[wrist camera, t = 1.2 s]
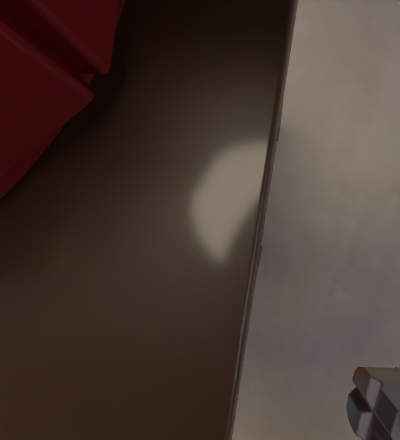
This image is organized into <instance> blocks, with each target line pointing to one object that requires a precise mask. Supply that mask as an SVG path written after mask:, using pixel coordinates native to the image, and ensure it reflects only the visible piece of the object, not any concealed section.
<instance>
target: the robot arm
mask: <svg viewBox="0 0 400 440" xmlns="http://www.w3.org/2000/svg"><path fill="white" fill-rule="evenodd" d="M352 380H353V382H354V384H355V386H356V388H355V389H354V390H353V391H352V392H350V393H349V396H348V400H347V415H348V419H349V422H350V425H351V427H352V429H353V431H354V433H355V434H356V435H357V436H358V437H360V438H361V439H362V440H400V367H395V368H379V367H358V368H357V369H356V370H355V372H354V376H353V379H352Z"/></svg>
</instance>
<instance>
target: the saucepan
mask: <svg viewBox="0 0 400 440" xmlns="http://www.w3.org/2000/svg"><path fill="white" fill-rule="evenodd" d="M125 3H126V0H0V200H1V199H2V198H3V197H4V196H5V195H6V194H7V193H8V192H9V191H10V190H11V189H12V188H13V187H15V186H16V185H17V184H18V183H19V182H20V181H21V180H22V179H23V178H24V177H25V176H26V174H27V173H28V172H29V171H30V169H31V168H32V167H33V166H34V164H35V163H36V162H37V161H38V159H39V158H40V157H41V156H42V155H43V153H44V152H45V151H46V150H47V148H48V147H49V146H50V145H51V143H52V142H53V141H54V140H55V139H56V137H57V136H58V135H59V134H60V132H61V130H62V129H63V127H64V126H65V124H66V123H67V122H69V121H70V120H71V119H72V118H73V117H75V116H76V115H77V114H78V113H79V112H80V111H82V110H83V109H84V108H85V107H86V106H87V105H89V104H90V103H91V102H92V100H93V99H94V96H93V92H92V90H91V88H90V87H89V86H90V84H91V82H92V80H93V78H94V76H95V74H96V75H106V74H108V73H109V71H110V66H111V60H112V53H113V46H114V40H115V33H116V30H117V27H118V24H119V21H120V18H121V15H122V12H123V9H124V6H125Z"/></svg>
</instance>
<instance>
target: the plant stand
mask: <svg viewBox="0 0 400 440" xmlns="http://www.w3.org/2000/svg"><path fill="white" fill-rule="evenodd" d="M297 4H298V0H126V3H125V6H124V9H123V12H122V15H121V18H120V21H119V24H118V27H117V30H116V33H115V40H114V46H113V53H112V60H111V66H110V71H109V73H108V74H106V75H96V74H95V76H94V78H93V80H92V82H91V84H90V86H89V87H90V88H91V90H92V92H93V96H94V99H93V100H92V102H91V103H90V104H89V105H87V106H86V107H85V108H84V109H83V110H82V111H80V112H79V113H78V114H77V115H76V116H75V117H73V118H72V119H71V120H70V121H69V122H67V123H66V124H65V126H64V127H63V129H62V130H61V132H60V134H59V135H58V136H57V137H56V139H55V140H54V141H53V142H52V143H51V145H50V146H49V147H48V148H47V150H46V151H45V152H44V153H43V155H42V156H41V157H40V158H39V159H38V161H37V162H36V163H35V164H34V166H33V167H32V168H31V169H30V171H29V172H28V173H27V174H26V176H25V177H24V178H23V179H22V180H21V181H20V182H19V183H18V184H17V185H16V186H15V187H13V188H12V189H11V190H10V191H9V192H8V193H7V194H6V195H5V196H4V197H3V198H2V199H1V200H0V440H232V433H233V427H234V420H235V414H236V407H237V400H238V394H239V387H240V381H241V374H242V367H243V361H244V354H245V348H246V341H247V334H248V328H249V321H250V315H251V308H252V301H253V295H254V288H255V282H256V275H257V270H258V266H259V262H260V256H261V249H262V246H261V242H262V235H263V229H264V222H265V216H266V209H267V202H268V196H269V189H270V183H271V176H272V169H273V163H274V156H275V150H276V143H277V141H278V137H279V130H280V124H281V115H282V106H283V97H284V90H285V84H286V77H287V70H288V64H289V57H290V51H291V44H292V37H293V31H294V24H295V18H296V11H297Z"/></svg>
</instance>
